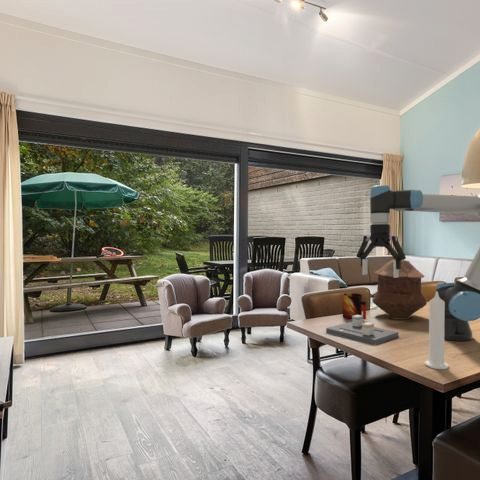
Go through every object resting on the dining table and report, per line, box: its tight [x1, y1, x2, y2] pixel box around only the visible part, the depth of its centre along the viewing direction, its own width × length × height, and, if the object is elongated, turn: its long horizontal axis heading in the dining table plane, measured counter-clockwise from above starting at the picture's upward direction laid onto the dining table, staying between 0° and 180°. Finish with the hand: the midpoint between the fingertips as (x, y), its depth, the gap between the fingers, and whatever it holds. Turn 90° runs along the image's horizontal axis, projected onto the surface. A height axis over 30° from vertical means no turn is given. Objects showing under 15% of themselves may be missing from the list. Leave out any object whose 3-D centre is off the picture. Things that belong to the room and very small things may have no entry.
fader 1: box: [351, 315, 364, 327], centre depth 172 cm, size 3×4×4 cm
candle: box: [424, 290, 450, 370], centre depth 126 cm, size 7×7×25 cm
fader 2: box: [362, 321, 375, 336], centre depth 157 cm, size 3×4×4 cm
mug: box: [342, 292, 367, 320], centre depth 196 cm, size 10×14×12 cm
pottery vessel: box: [371, 259, 427, 320], centre depth 198 cm, size 26×26×30 cm
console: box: [325, 321, 399, 346], centre depth 165 cm, size 24×18×2 cm
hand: (380, 276), depth 154 cm, fingers open, 13 cm apart
